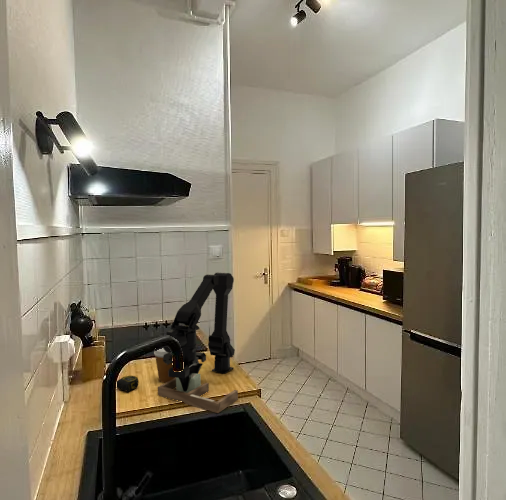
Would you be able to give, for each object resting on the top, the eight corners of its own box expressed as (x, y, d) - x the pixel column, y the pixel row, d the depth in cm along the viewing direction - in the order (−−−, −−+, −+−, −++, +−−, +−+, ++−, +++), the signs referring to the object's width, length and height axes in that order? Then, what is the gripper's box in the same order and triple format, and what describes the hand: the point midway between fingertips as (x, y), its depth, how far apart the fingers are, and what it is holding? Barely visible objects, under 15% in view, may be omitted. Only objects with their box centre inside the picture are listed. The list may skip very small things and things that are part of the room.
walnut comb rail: (179, 383, 138) (179, 375, 138) (237, 399, 125) (237, 390, 125) (157, 395, 128) (157, 386, 128) (218, 413, 115) (217, 403, 115)
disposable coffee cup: (173, 385, 137) (173, 352, 136) (150, 383, 139) (149, 351, 138) (183, 375, 146) (183, 345, 145) (161, 373, 148) (160, 343, 147)
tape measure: (114, 390, 133) (114, 379, 133) (130, 383, 139) (129, 373, 139) (126, 394, 129) (126, 383, 129) (142, 387, 135) (142, 377, 135)
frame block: (182, 386, 135) (182, 371, 135) (200, 389, 133) (200, 373, 133) (176, 392, 130) (176, 376, 130) (194, 394, 128) (194, 378, 128)
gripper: (179, 335, 142) (180, 375, 143) (153, 350, 124) (154, 396, 125) (206, 337, 139) (207, 378, 140) (184, 353, 121) (184, 400, 122)
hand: (188, 387), depth 132 cm, fingers closed on frame block, 5 cm apart
